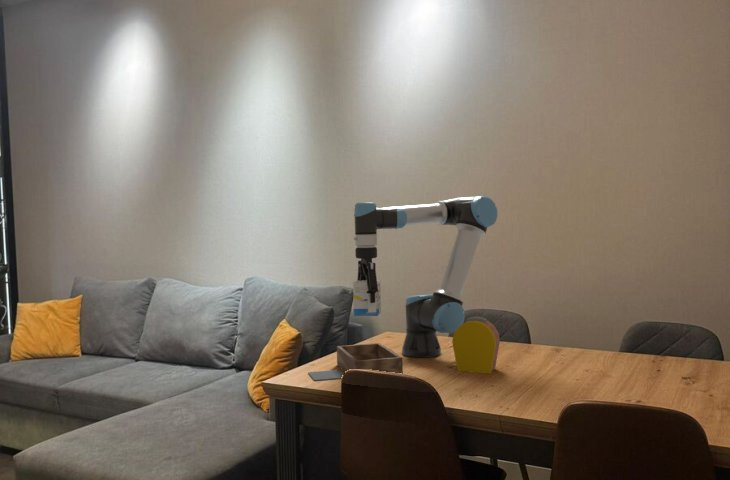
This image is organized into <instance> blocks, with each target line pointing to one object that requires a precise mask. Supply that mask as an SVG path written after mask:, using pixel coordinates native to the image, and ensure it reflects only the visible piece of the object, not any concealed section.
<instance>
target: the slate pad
mask: <svg viewBox="0 0 730 480" xmlns="http://www.w3.org/2000/svg"><path fill="white" fill-rule="evenodd" d="M307 373H308V375H309V376H310V378H311V379H312V380H313V381H314V382H321V381H331V380H332V381H333V380H342V379H341V377H342V375H343V374H344V373H343V372H342V371H341V369H333V370H319V371H310V372H307Z"/></svg>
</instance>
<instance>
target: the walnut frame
mask: <svg viewBox="0 0 730 480" xmlns="http://www.w3.org/2000/svg"><path fill="white" fill-rule="evenodd" d="M403 362H404V359H403V357H402V356H401V355H399V354H398V353H396V352H395V351H392V350H391V349H390V348H388V347H387V346H385V345H383V344H382V343H381V342H377V343H362V344H360V343H359V344H349V345H337V346H336V365H337V366H338V367H339V368H340V370H342V371H343V372H344V373H345V371H347V370H349V369H372V370H379V371H386V372H395V373H402V374H403V375H404V369H403V368H404V365H403Z"/></svg>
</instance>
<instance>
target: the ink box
mask: <svg viewBox="0 0 730 480" xmlns="http://www.w3.org/2000/svg"><path fill="white" fill-rule="evenodd" d="M352 283H353V284H352V287H353V292H352V295H353V296H352V297H353V316H354V317H378V316H379V315H380V314H381V313H382V301H381V299H382V298H381V280H380V279H377V287H378V292H376V312H368V293H367V291H368V286H367V281H366V280H362V281H360V280H358V281H357V280H356V281H353V282H352Z"/></svg>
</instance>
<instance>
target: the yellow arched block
mask: <svg viewBox="0 0 730 480" xmlns="http://www.w3.org/2000/svg"><path fill="white" fill-rule="evenodd" d="M452 336H453V337H452V341H451V342H452V347H453V353H454V359H455V365H456V369H457V370H460V371H459V372H465V371H473V372H472V373H477V372H485V373H484V374H488V373H490V374H491V373H492V372H493V371H495V369H496V366H497V359H498V354H499V350H500V349H499V348H500V342H501V340H500V334H499V331H498V330H497V328H496V327H495V325H494V324H493V323H492V322H490V321H488V319H487V318H486V317H482V316H478V315H477V316H471V317H468V318H466V321H465V322H463V324H462V325H461V326H459V327H458V328H457V330H456V331H455V332H453V335H452Z"/></svg>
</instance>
